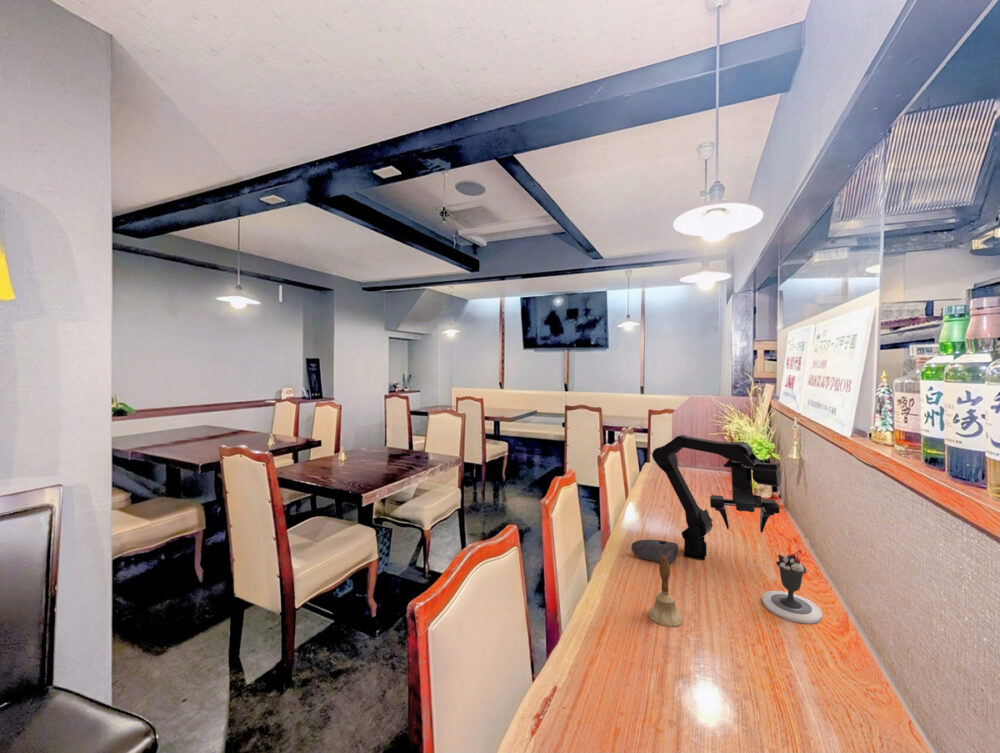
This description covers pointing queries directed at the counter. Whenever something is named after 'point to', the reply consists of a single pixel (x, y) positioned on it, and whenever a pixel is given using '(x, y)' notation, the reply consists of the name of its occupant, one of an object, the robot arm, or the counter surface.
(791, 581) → the sundae
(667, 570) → the hand bell
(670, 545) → the perforated stone tool
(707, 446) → the robot arm
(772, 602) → the serving plate
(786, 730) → the counter surface
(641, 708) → the counter surface
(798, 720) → the counter surface
